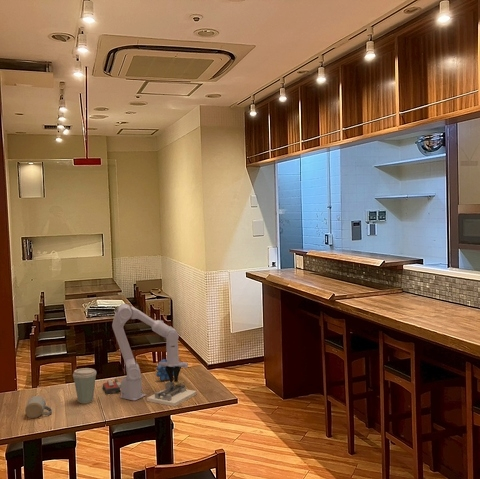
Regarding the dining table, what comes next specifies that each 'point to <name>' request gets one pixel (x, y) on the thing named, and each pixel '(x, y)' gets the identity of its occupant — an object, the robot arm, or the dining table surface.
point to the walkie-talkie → (112, 387)
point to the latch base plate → (172, 396)
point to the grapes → (162, 372)
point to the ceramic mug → (37, 407)
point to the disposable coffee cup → (84, 384)
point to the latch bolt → (179, 382)
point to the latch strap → (171, 390)
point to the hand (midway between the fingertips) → (173, 381)
